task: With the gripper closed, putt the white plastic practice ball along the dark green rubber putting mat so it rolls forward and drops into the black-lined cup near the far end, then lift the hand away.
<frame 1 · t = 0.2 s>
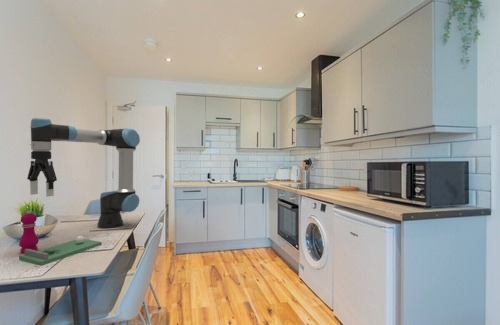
hand: (41, 195, 123), 28 cm above the table, fingers open, 13 cm apart
ball: (79, 239, 132), point 4 cm above the table, touching putting mat
putting mat: (63, 251, 125), on the table
pepper mill: (29, 251, 125), on the table
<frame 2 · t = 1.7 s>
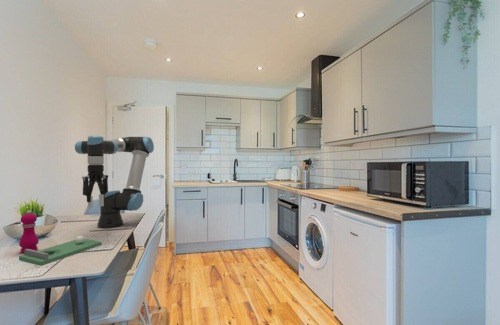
hand: (95, 206, 140), 19 cm above the table, fingers open, 6 cm apart
nothing on the table moved.
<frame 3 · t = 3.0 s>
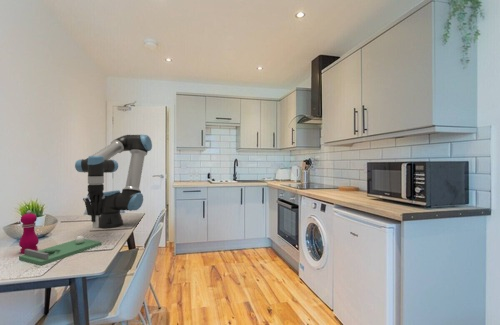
hand: (95, 227, 140), 8 cm above the table, fingers closed
nothing on the table moved.
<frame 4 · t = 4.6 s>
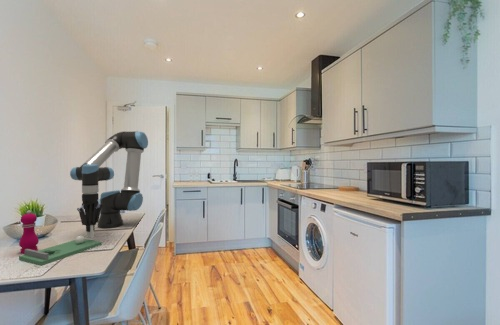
hand: (90, 237, 137), 3 cm above the table, fingers closed
nothing on the table moved.
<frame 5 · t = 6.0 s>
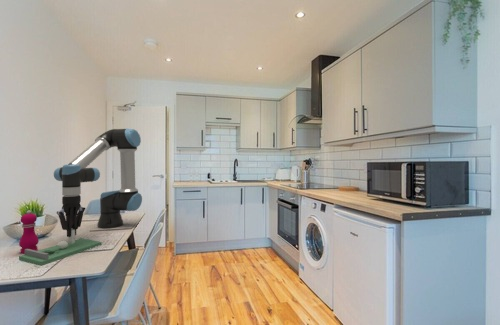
hand: (71, 242, 128), 3 cm above the table, fingers closed
ball: (62, 244, 124), point 4 cm above the table, tilted 124°, touching putting mat
everything else where it was.
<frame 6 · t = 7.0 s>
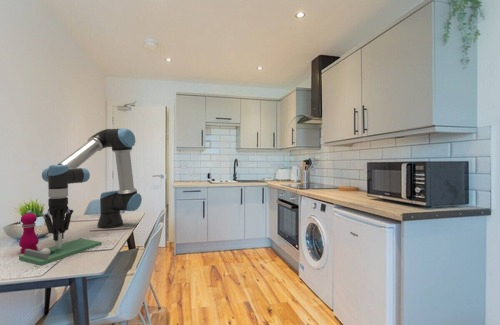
hand: (58, 246, 122), 3 cm above the table, fingers closed
ball: (45, 252, 117), point 2 cm above the table, tilted 107°, touching putting mat
everything else where it was.
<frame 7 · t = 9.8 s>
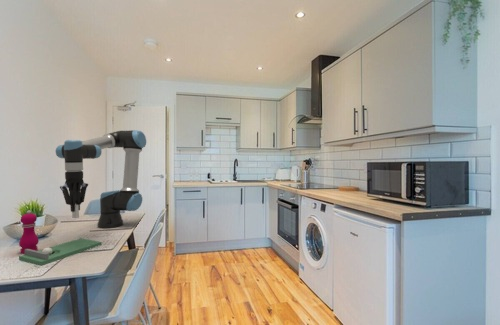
hand: (75, 217, 130), 15 cm above the table, fingers closed
ball: (47, 252, 118), point 2 cm above the table, tilted 87°, touching putting mat
everything else where it was.
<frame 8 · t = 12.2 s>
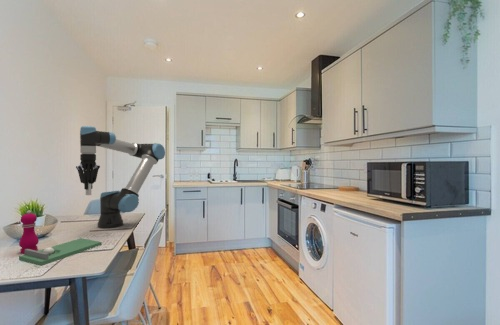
hand: (88, 195, 146), 24 cm above the table, fingers closed
ball: (48, 251, 119), point 2 cm above the table, tilted 69°, touching putting mat
everything else where it was.
at the end: ball 0.6 cm from the target spot on the putting mat, point 2.2 cm above the putting mat's base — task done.
